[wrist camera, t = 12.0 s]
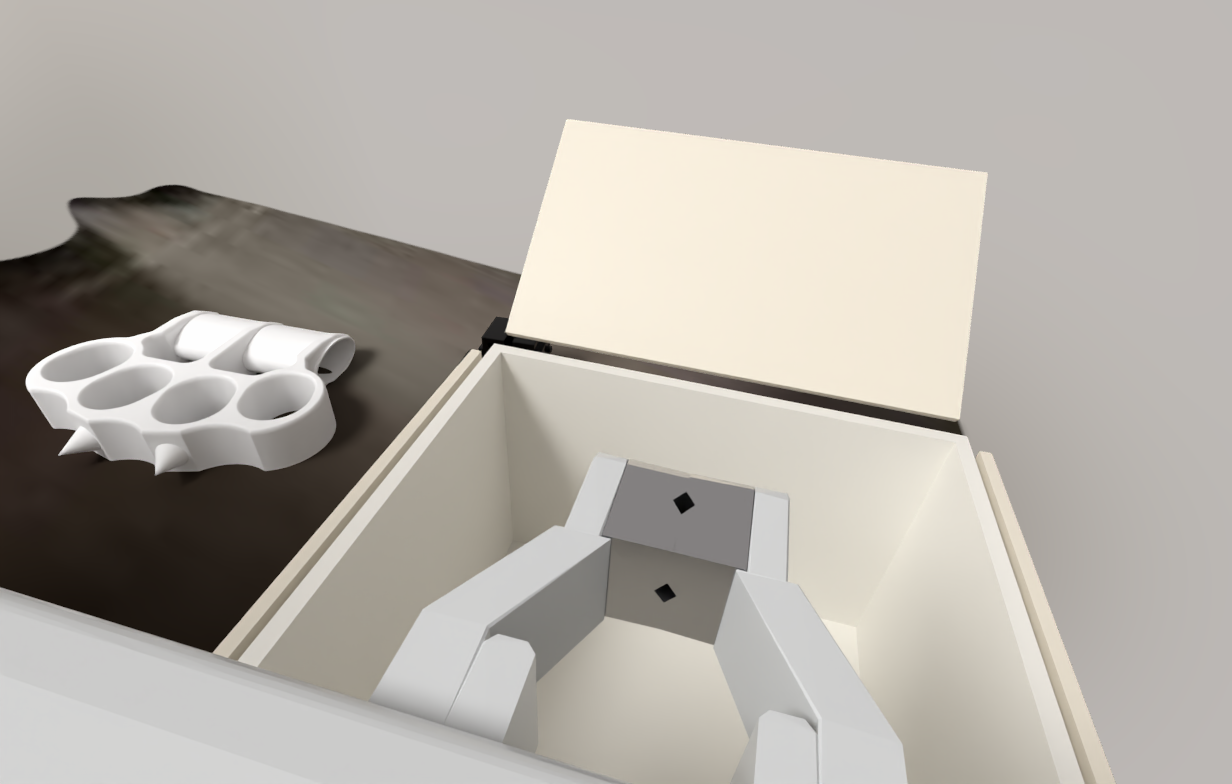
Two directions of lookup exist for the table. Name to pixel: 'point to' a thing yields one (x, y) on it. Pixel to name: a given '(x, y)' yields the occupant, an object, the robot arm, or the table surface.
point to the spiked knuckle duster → (196, 393)
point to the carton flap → (758, 264)
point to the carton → (673, 664)
